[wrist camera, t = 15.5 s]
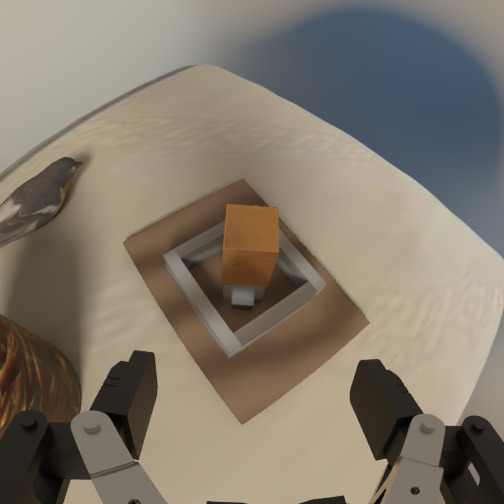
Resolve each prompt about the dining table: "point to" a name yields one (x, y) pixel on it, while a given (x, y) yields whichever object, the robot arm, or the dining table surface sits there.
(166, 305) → the socket board
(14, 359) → the jar
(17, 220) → the decorative bird
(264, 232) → the orange rectangular block
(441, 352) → the dining table surface
